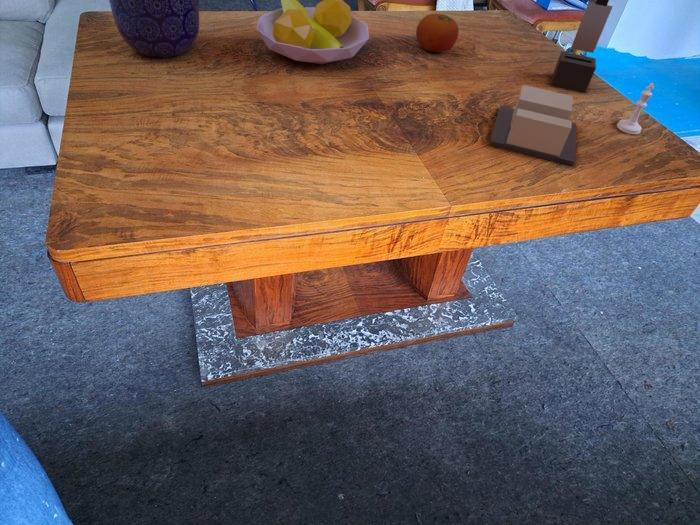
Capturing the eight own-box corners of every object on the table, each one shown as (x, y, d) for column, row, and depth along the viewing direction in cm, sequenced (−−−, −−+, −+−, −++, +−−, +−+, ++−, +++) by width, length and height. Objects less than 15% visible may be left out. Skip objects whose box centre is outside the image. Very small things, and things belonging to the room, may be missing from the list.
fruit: (405, 43, 132) (411, 11, 126) (437, 39, 136) (444, 7, 130) (430, 60, 125) (436, 26, 120) (462, 54, 129) (470, 22, 124)
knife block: (585, 82, 124) (595, 58, 119) (585, 92, 119) (596, 67, 115) (552, 75, 125) (561, 51, 121) (550, 85, 121) (560, 60, 117)
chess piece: (645, 133, 108) (670, 88, 101) (627, 135, 106) (651, 90, 99) (629, 121, 111) (652, 77, 104) (611, 123, 109) (633, 79, 102)
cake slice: (559, 148, 98) (571, 120, 94) (559, 156, 96) (571, 128, 92) (508, 136, 100) (517, 108, 95) (506, 143, 97) (516, 115, 93)
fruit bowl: (384, 71, 118) (391, 20, 110) (269, 79, 110) (268, 25, 102) (345, 26, 137) (349, -21, 129) (244, 30, 129) (241, -19, 121)
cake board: (574, 127, 107) (576, 123, 106) (572, 166, 96) (574, 161, 95) (499, 109, 110) (500, 105, 109) (488, 145, 98) (490, 140, 98)
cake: (561, 123, 105) (572, 95, 101) (560, 139, 101) (572, 111, 96) (513, 111, 107) (522, 84, 103) (509, 126, 102) (519, 99, 98)
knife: (593, 51, 117) (627, -31, 105) (593, 54, 115) (628, -29, 104) (571, 46, 118) (602, -36, 106) (570, 49, 116) (602, -34, 104)
